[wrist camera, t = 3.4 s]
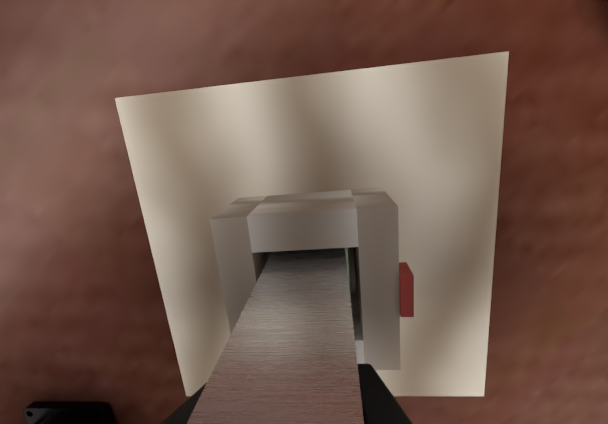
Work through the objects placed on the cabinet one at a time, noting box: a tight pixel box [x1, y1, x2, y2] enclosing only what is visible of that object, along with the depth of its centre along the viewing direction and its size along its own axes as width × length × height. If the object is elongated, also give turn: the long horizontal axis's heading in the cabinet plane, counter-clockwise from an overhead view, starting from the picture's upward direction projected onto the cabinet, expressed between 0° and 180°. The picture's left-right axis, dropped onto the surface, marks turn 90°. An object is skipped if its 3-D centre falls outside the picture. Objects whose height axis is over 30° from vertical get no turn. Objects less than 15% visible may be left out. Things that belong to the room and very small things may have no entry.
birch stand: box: [115, 51, 509, 396], centre depth 15 cm, size 18×18×5 cm
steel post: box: [187, 248, 364, 424], centre depth 10 cm, size 4×4×12 cm
